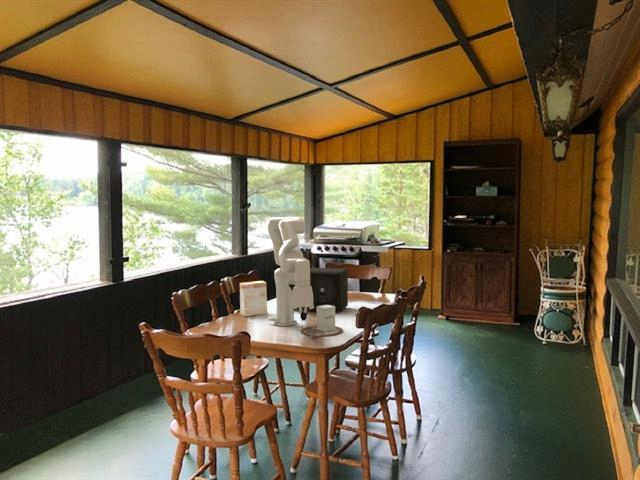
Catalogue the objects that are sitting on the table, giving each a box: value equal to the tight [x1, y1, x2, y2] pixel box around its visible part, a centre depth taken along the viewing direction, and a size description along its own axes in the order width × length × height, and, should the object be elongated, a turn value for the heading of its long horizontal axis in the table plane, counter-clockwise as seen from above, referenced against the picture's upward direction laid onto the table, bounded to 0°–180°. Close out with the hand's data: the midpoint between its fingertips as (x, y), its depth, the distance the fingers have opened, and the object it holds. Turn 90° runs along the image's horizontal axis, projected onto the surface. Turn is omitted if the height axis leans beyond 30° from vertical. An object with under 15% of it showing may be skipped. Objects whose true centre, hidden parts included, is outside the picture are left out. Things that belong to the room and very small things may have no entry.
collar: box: [300, 324, 344, 339], centre depth 282 cm, size 22×26×5 cm
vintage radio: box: [289, 267, 349, 314], centre depth 340 cm, size 38×20×25 cm, turn 72°
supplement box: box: [316, 305, 336, 333], centre depth 287 cm, size 7×7×13 cm
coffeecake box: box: [239, 280, 268, 317], centre depth 328 cm, size 15×7×20 cm, turn 118°
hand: (303, 320), depth 272 cm, fingers closed
